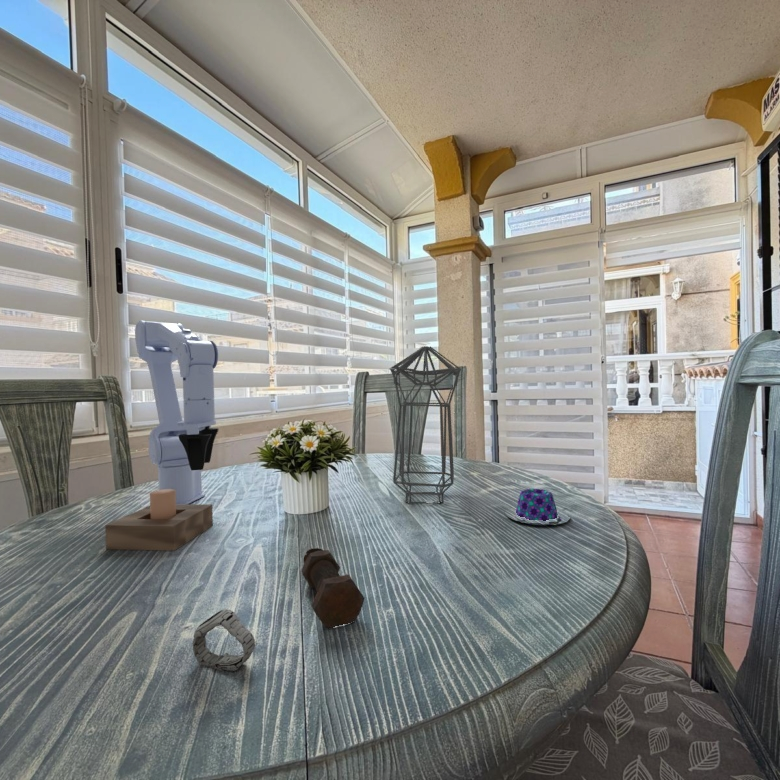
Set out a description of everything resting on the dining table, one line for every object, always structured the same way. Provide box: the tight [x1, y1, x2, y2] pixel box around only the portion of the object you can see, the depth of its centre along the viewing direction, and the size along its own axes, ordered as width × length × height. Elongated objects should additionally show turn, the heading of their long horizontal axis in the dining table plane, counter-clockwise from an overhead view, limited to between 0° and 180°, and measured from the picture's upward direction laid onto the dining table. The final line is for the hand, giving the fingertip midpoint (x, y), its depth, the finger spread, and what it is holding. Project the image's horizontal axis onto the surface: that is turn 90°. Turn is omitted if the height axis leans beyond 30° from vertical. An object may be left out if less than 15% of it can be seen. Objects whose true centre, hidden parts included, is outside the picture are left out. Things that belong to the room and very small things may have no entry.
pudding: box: [516, 488, 558, 521], centre depth 80 cm, size 12×12×5 cm
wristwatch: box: [192, 608, 256, 672], centre depth 40 cm, size 4×6×5 cm, turn 73°
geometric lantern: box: [388, 345, 462, 504], centre depth 95 cm, size 16×16×35 cm
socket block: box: [104, 503, 214, 552], centre depth 74 cm, size 12×12×4 cm
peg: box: [149, 489, 176, 520], centre depth 74 cm, size 4×4×8 cm
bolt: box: [300, 547, 365, 629], centre depth 52 cm, size 6×5×15 cm
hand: (200, 466), depth 85 cm, fingers open, 7 cm apart
